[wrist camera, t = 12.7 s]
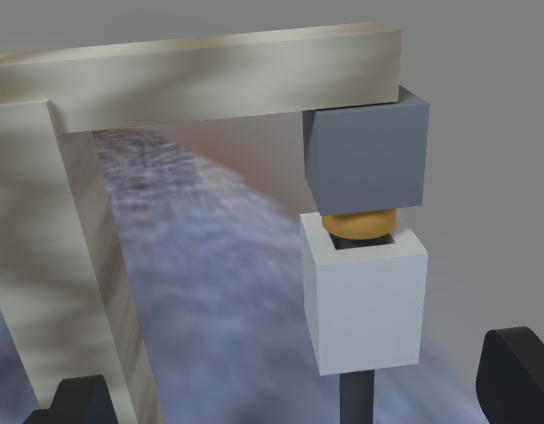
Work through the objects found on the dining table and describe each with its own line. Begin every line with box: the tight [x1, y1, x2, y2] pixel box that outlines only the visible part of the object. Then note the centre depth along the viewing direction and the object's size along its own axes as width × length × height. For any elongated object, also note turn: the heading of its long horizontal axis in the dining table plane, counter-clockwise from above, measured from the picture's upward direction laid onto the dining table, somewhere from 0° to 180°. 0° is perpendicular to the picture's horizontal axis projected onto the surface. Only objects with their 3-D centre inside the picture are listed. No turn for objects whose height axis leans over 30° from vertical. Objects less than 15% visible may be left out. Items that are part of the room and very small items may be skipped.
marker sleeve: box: [300, 210, 428, 376], centre depth 23 cm, size 5×5×6 cm
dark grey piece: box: [302, 85, 430, 424], centre depth 24 cm, size 4×4×24 cm
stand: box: [0, 22, 401, 424], centre depth 24 cm, size 18×9×29 cm, turn 95°
